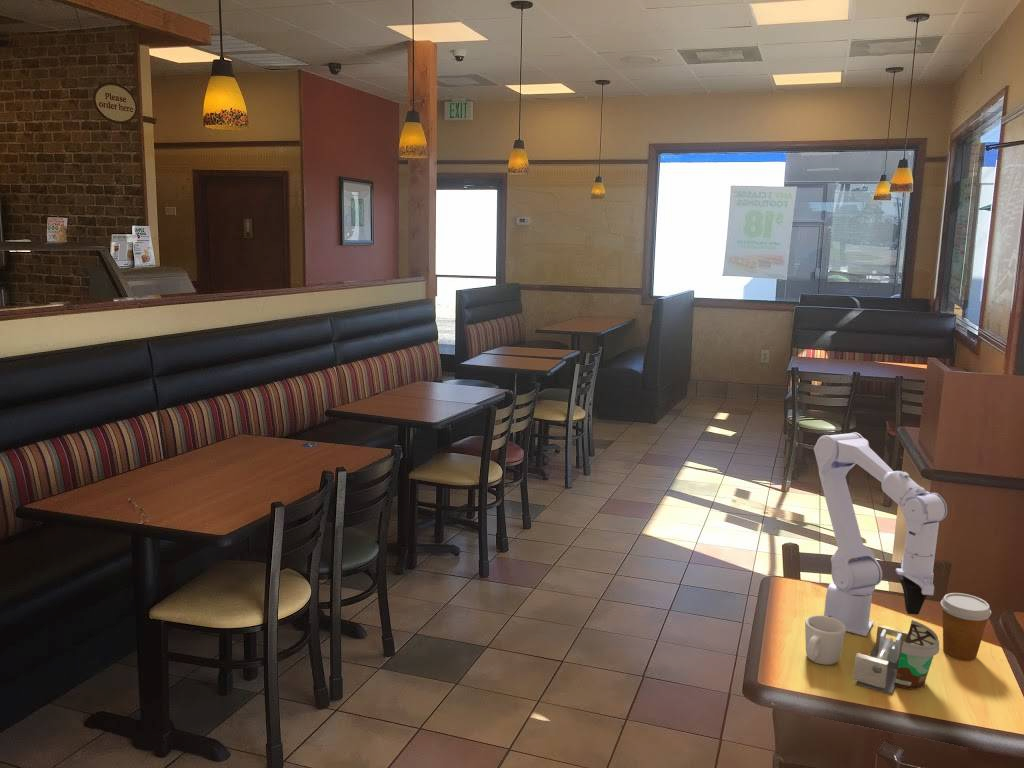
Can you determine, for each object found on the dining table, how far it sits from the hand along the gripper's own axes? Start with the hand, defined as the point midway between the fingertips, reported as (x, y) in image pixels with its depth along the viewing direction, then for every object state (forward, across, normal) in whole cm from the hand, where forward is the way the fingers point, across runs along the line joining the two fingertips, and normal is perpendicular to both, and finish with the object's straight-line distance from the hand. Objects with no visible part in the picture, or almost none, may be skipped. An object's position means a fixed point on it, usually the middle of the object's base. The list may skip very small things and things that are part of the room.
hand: (912, 612), depth 178 cm
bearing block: (+10, +1, -4) cm, 11 cm away
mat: (+10, +4, -6) cm, 13 cm away
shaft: (+9, +8, -9) cm, 15 cm away
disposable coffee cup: (+11, -4, +12) cm, 17 cm away
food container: (+10, +9, -2) cm, 14 cm away
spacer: (+7, -1, -3) cm, 8 cm away
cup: (+11, +4, -19) cm, 22 cm away
